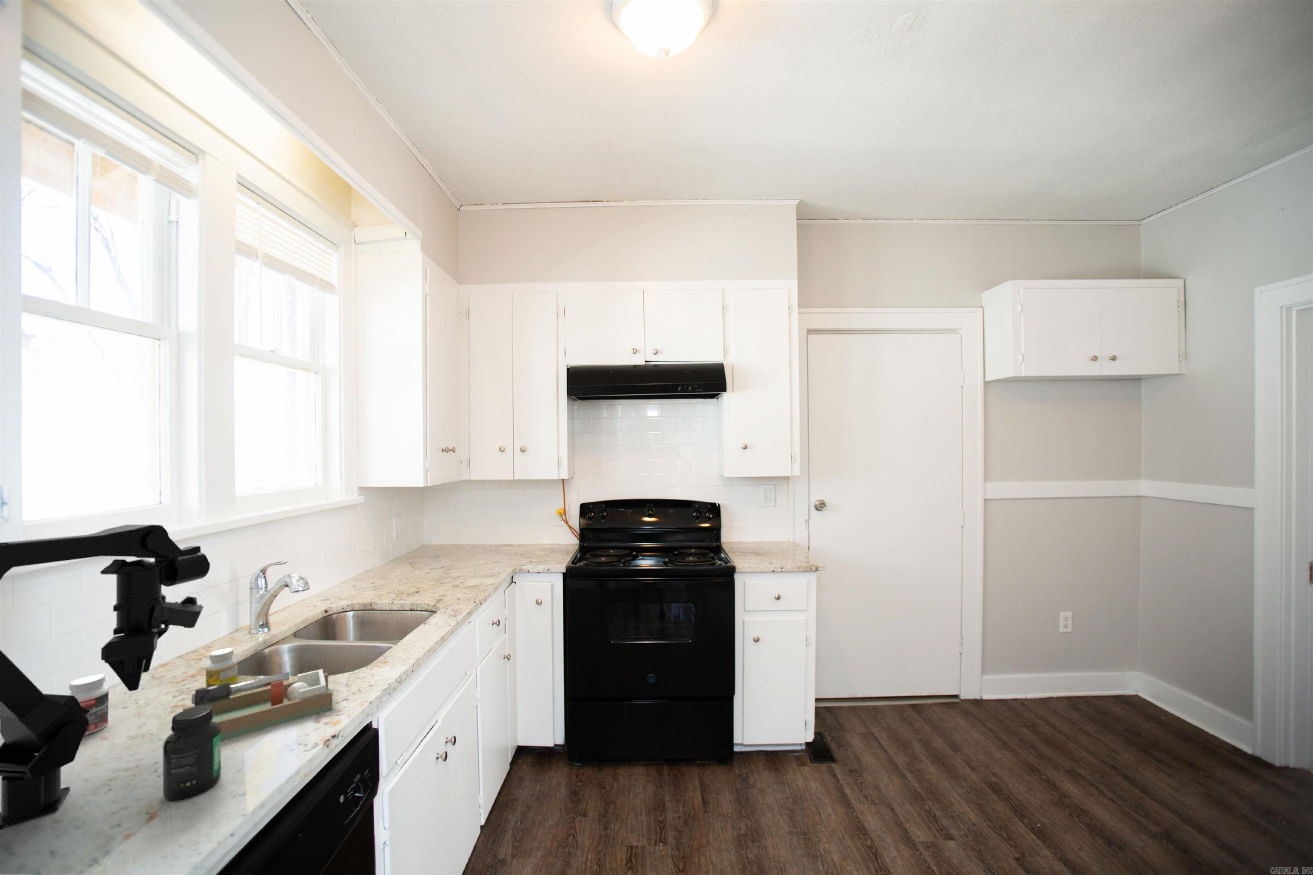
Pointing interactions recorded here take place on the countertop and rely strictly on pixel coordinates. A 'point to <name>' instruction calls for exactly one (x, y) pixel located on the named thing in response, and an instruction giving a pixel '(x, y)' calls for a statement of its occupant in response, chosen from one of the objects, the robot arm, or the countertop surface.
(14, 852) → the countertop surface
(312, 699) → the tray
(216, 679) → the supplement bottle
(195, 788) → the supplement bottle
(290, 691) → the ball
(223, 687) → the rod
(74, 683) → the pill bottle
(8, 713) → the robot arm
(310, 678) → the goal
